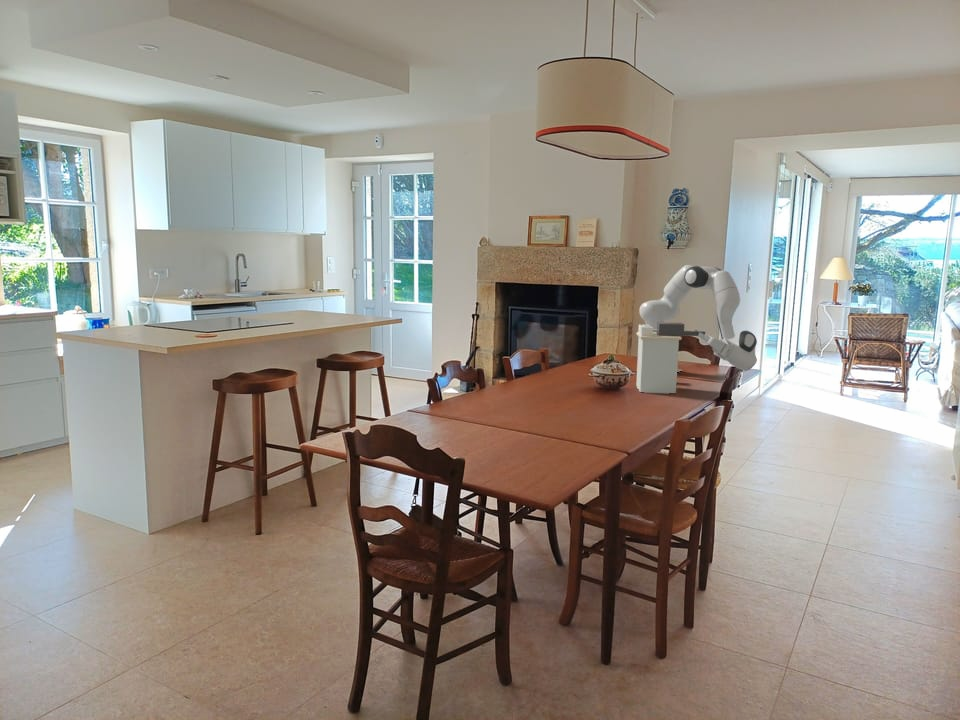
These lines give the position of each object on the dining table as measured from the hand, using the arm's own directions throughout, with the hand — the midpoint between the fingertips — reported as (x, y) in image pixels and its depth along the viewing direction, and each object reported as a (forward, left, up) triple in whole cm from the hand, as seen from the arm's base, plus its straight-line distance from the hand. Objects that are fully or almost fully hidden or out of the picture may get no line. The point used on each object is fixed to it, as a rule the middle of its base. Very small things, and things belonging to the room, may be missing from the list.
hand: (696, 332), depth 314 cm
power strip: (+16, -16, -1) cm, 23 cm away
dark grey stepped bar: (+6, -6, -1) cm, 9 cm away
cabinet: (+12, -12, -27) cm, 32 cm away
